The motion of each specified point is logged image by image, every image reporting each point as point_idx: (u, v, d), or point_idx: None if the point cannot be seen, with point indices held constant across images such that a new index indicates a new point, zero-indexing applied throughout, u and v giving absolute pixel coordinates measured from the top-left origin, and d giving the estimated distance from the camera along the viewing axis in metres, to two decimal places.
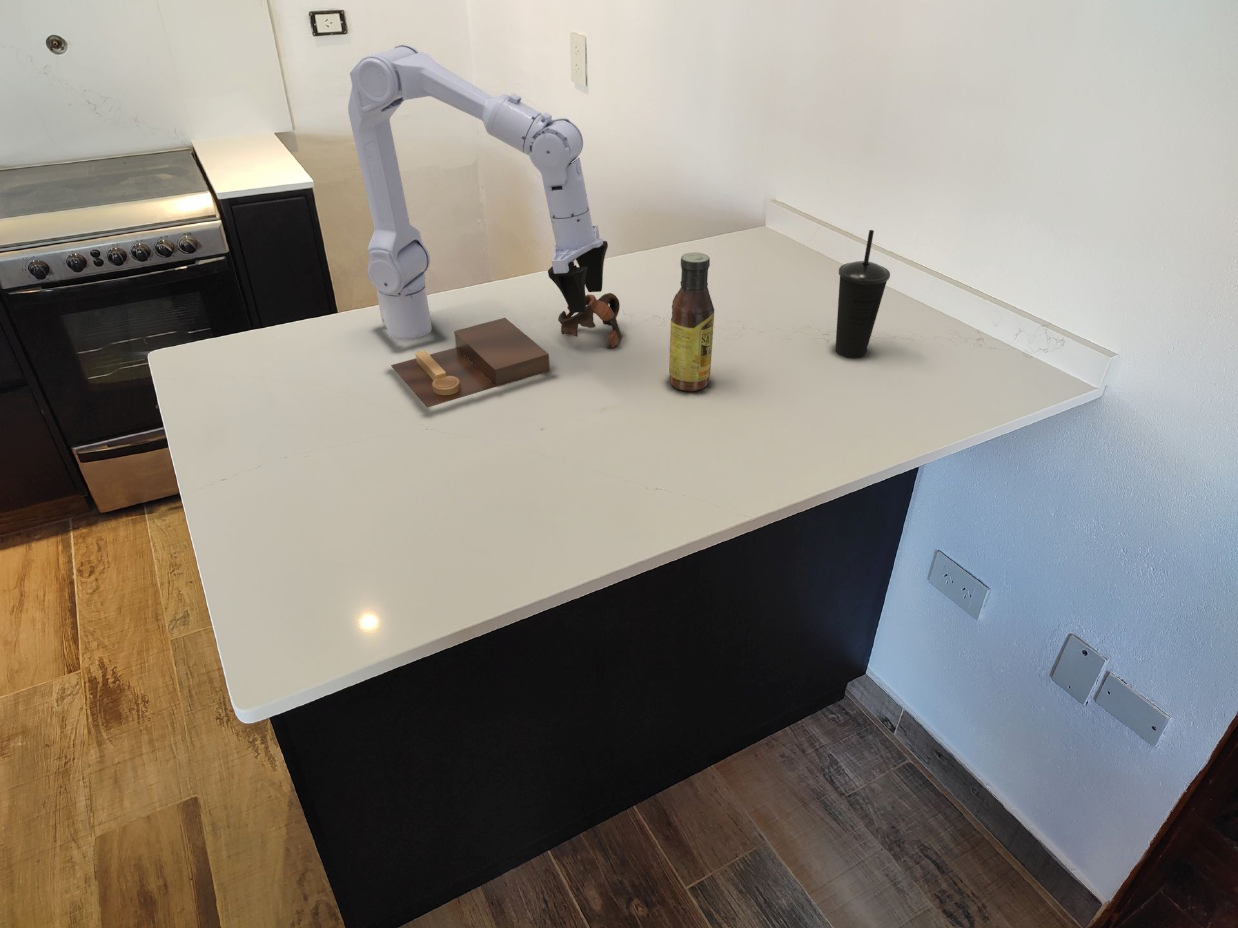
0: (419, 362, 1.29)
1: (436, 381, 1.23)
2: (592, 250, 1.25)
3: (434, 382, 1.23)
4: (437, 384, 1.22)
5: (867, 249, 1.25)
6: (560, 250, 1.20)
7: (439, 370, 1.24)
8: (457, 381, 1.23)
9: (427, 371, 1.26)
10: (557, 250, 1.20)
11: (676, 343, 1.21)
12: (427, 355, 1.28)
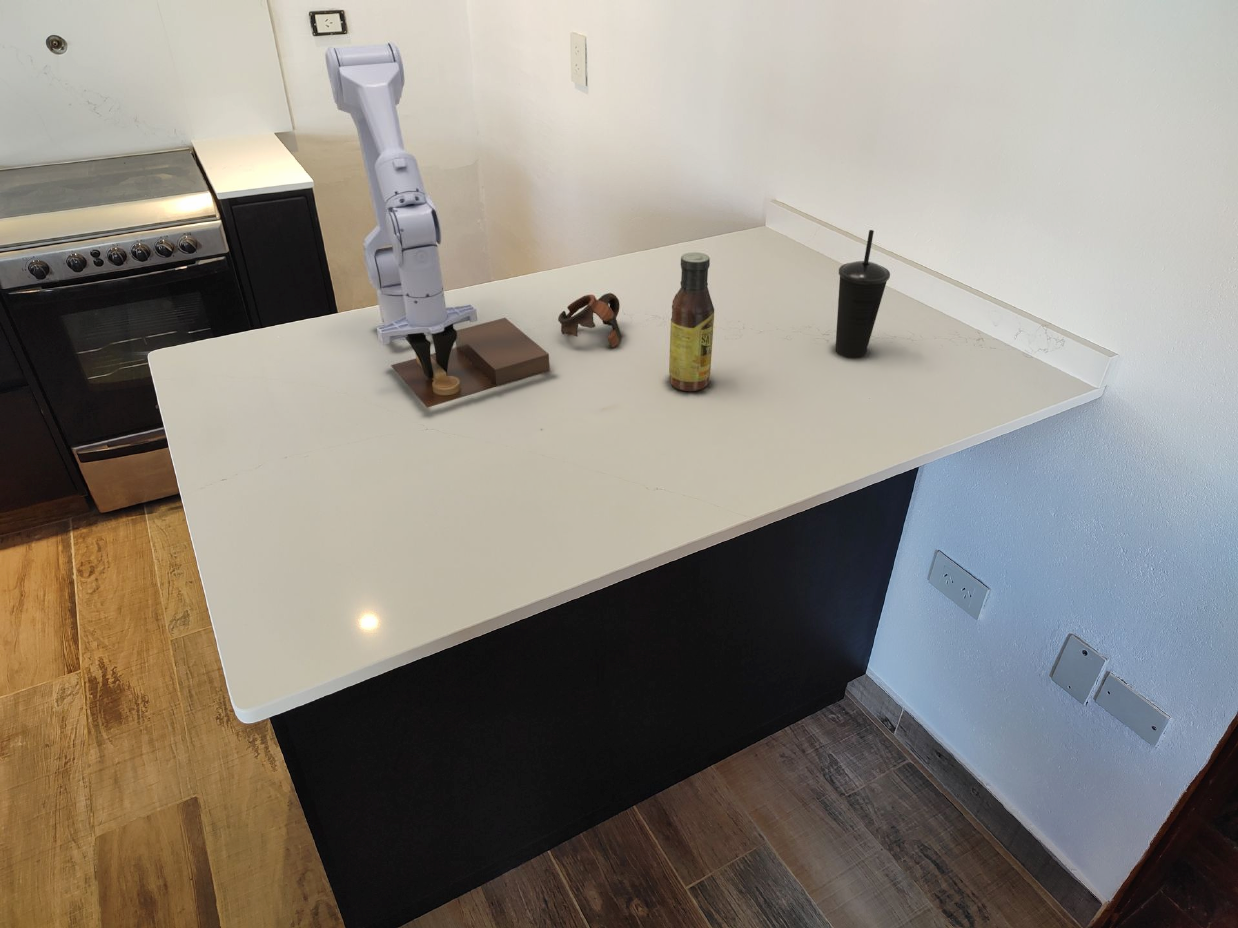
0: (419, 362, 1.29)
1: (436, 381, 1.23)
2: (438, 335, 1.22)
3: (434, 382, 1.23)
4: (437, 384, 1.22)
5: (867, 249, 1.25)
6: (406, 320, 1.20)
7: (440, 370, 1.24)
8: (457, 381, 1.23)
9: None
10: (405, 318, 1.21)
11: (676, 343, 1.21)
12: None
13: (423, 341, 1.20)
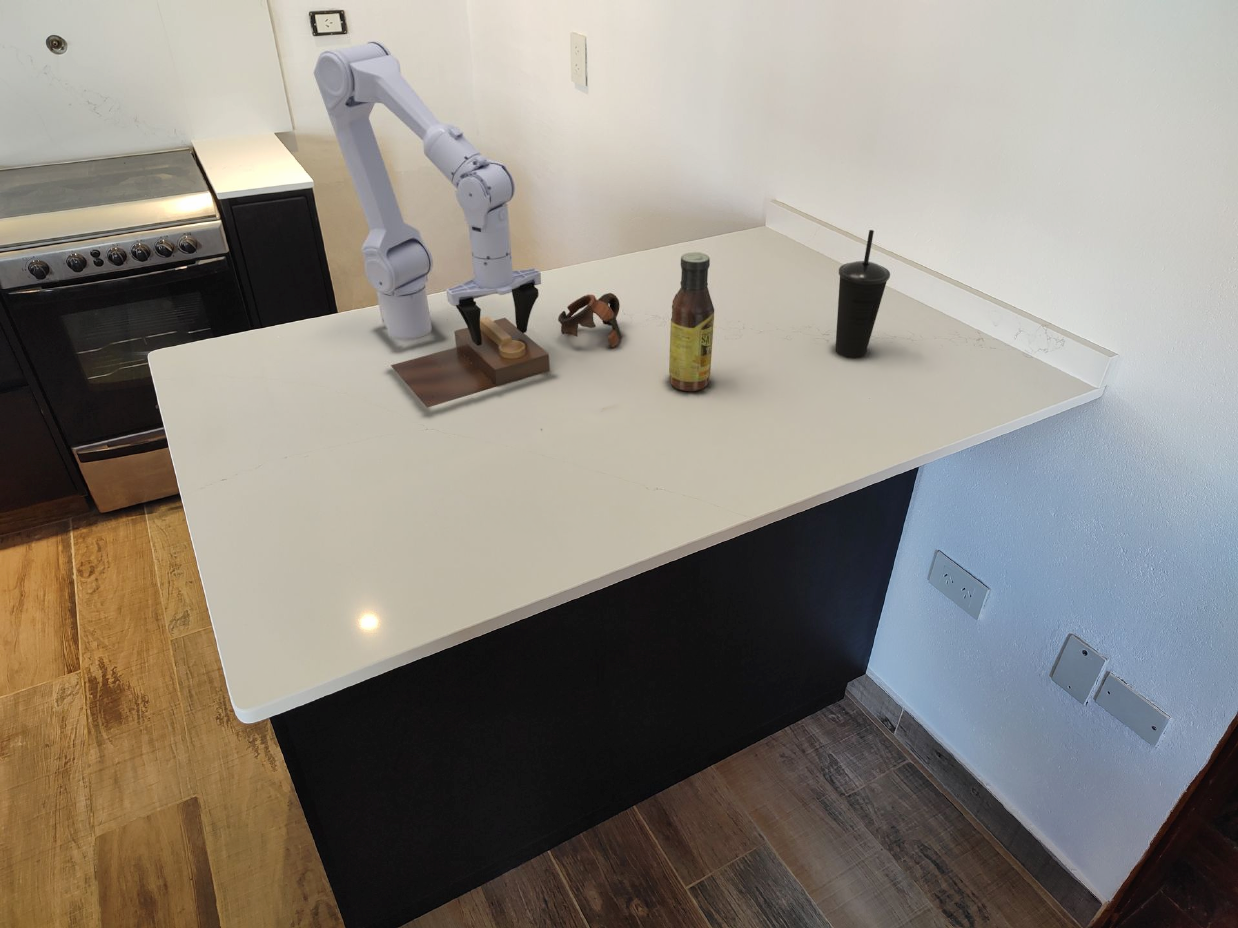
0: (483, 328, 1.32)
1: (502, 345, 1.26)
2: (520, 293, 1.26)
3: (500, 346, 1.26)
4: (504, 347, 1.25)
5: (867, 249, 1.25)
6: (473, 282, 1.23)
7: (505, 335, 1.27)
8: (523, 345, 1.26)
9: (492, 336, 1.29)
10: (473, 281, 1.24)
11: (676, 343, 1.21)
12: (491, 321, 1.31)
13: (473, 307, 1.21)
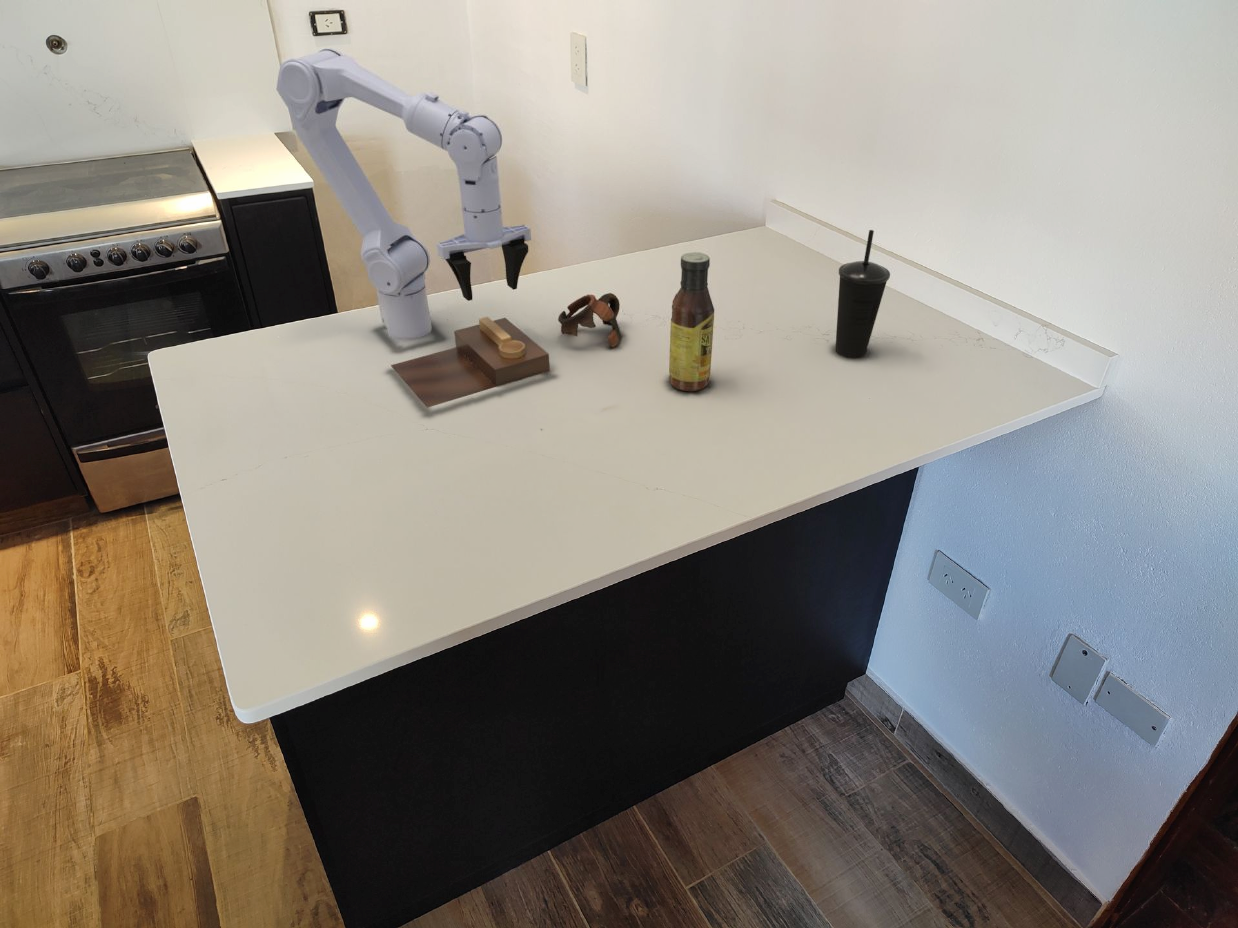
0: (483, 328, 1.32)
1: (502, 345, 1.26)
2: (510, 249, 1.28)
3: (500, 346, 1.26)
4: (504, 347, 1.25)
5: (867, 249, 1.25)
6: (464, 237, 1.25)
7: (505, 335, 1.27)
8: (523, 345, 1.26)
9: (492, 336, 1.29)
10: (463, 236, 1.25)
11: (676, 343, 1.21)
12: (491, 321, 1.31)
13: (464, 261, 1.23)
